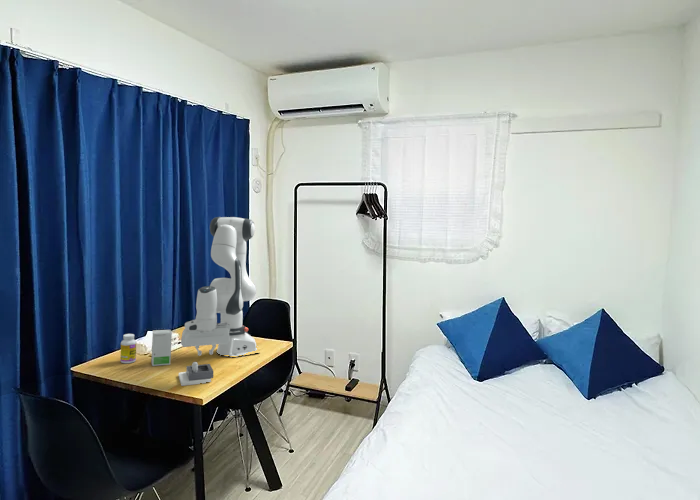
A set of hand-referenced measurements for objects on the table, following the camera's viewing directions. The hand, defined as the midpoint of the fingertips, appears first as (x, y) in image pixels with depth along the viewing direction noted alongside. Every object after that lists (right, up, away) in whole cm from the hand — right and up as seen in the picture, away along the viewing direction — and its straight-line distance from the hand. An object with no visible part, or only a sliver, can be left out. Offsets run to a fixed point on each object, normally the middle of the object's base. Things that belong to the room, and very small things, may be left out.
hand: (205, 354), depth 193 cm
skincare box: (-26, -8, +16) cm, 32 cm away
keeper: (-4, -11, -1) cm, 11 cm away
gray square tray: (-2, -9, 0) cm, 9 cm away
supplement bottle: (-42, -7, +16) cm, 45 cm away
